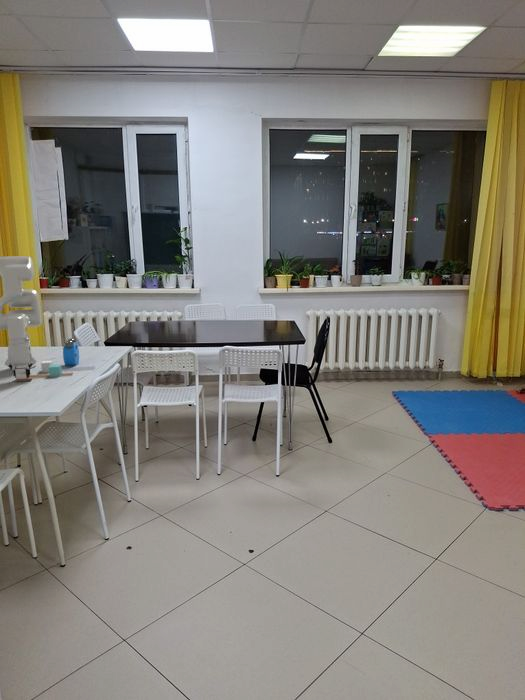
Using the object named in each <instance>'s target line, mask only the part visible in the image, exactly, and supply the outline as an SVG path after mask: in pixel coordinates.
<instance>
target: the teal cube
mask: <svg viewBox="0 0 525 700" xmlns="http://www.w3.org/2000/svg"><path fill="white" fill-rule="evenodd" d="M61 368H62V364H53V365H50V366H49V373H48V374H49V376H50V377H52V378H59V377H58V376H61V374H62V373H63V372H62V370H61Z"/></svg>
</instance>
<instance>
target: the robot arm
mask: <svg viewBox="0 0 525 700" xmlns="http://www.w3.org/2000/svg"><path fill="white" fill-rule="evenodd" d="M34 269H35V268H34V261H33V258H31V256H26V255H24V256H23V255H22V256H20V255H19V256H17V255H16V256H15V255H12V256H11V255H10V256H9V255H8V256H0V277H1V279H2V288H3V295H2V296H1V297H0V330H2V331H3V330H4V331H5V330H7V334H8V341H9V342H8V344H7V345H8V346H7V359H6V361H5V362H4V366H7V367H8V368H10V370H12V372H13V377H14V378H15V379H16V373H15V369H16V368H17V367H25V366H26V376H27V377H29V375H31V369H32V368H33V369H34V368H35V367H36V366H37V360H36V359H35V358H34V357H33V353H32V347H31V339H30V334H29V333H28V332H27V330H26V328H33V327H40V326H41V325H42V323H43V317H42V308H41V301H40V295H39V293H38V291H37V290H35V289H23V282H30V281H33V280H34V276H35V270H34ZM6 305H7V306H8V307H9V308H12V309H13V310H9V311H7V312H6V314H5V313H4V314H3V309H4V307H5V306H6ZM16 308H17V309H16ZM18 308H19V309H18ZM20 308H29V309H20ZM14 309H15V310H14Z"/></svg>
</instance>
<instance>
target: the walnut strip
mask: <svg viewBox="0 0 525 700" xmlns="http://www.w3.org/2000/svg"><path fill="white" fill-rule="evenodd" d="M74 372H75V371H71V372H62V374H61V376H58V377H57V378H62V377H63V378H64V377H65V378H66V377H72V376H73V374H74ZM15 373H16V378H15V380H14V381H15V382H16V383H19V382H31V381H32V380H34V379H35V380H36V379H49V378H51V379H52V378H53V377H50V376H49V373H41V374H32V375H31V374H30V375H29V377H27V376H26V366H25V367H17V368H16V369H15Z"/></svg>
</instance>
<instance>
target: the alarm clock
mask: <svg viewBox="0 0 525 700" xmlns="http://www.w3.org/2000/svg"><path fill="white" fill-rule="evenodd" d="M62 346H63V347H62V358H63V364H64V365H65V366H67V367H69V366H78V365H79V362H80V349H79V345H78V342H77V340H76V339H74V338H68V339H67V340H66V341H65V342H64V344H63V345H62Z"/></svg>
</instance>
